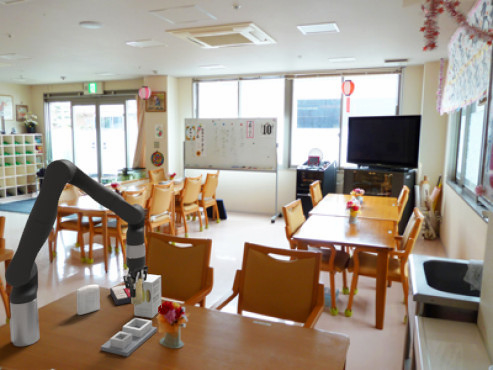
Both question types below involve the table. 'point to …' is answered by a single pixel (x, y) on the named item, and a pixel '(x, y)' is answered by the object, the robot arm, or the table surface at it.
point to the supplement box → (150, 297)
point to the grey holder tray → (130, 337)
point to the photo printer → (88, 299)
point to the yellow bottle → (138, 293)
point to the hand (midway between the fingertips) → (136, 294)
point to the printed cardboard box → (120, 294)
